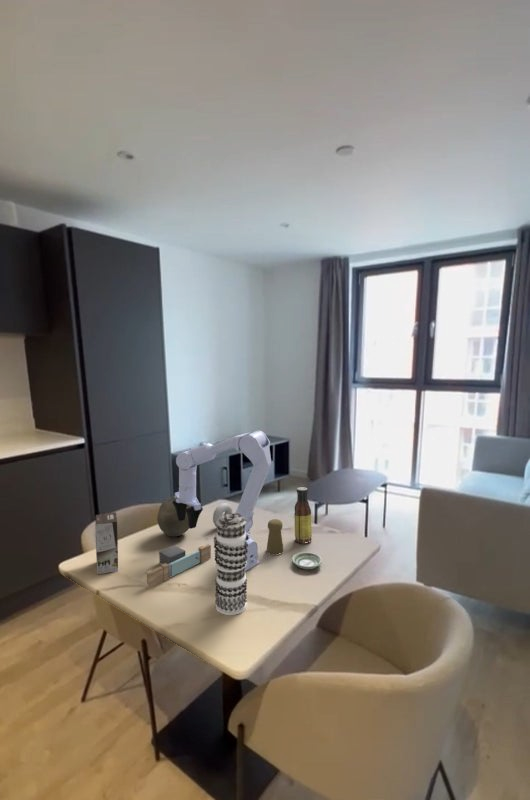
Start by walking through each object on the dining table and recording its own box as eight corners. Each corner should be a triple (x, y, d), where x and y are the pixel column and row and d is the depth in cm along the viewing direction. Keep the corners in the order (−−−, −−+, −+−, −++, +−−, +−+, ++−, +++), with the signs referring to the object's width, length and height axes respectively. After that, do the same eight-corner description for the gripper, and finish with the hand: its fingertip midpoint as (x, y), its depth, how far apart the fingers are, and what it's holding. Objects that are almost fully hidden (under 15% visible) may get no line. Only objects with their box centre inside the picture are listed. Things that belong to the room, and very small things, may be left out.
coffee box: (118, 571, 122) (117, 521, 120) (96, 575, 119) (94, 524, 118) (117, 557, 130) (116, 511, 129) (97, 561, 128) (95, 514, 126)
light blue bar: (201, 563, 126) (201, 551, 126) (170, 579, 117) (170, 566, 116) (197, 562, 127) (197, 549, 127) (166, 577, 118) (166, 564, 117)
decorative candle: (224, 592, 110) (223, 507, 108) (253, 599, 107) (253, 512, 105) (207, 610, 102) (206, 519, 100) (238, 619, 99) (238, 525, 96)
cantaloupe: (150, 535, 147) (149, 497, 146) (183, 525, 157) (182, 489, 155) (168, 548, 137) (167, 507, 135) (202, 536, 146) (201, 498, 145)
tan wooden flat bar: (211, 558, 130) (211, 544, 130) (149, 589, 112) (149, 573, 111) (207, 556, 131) (207, 543, 131) (146, 587, 113) (146, 571, 112)
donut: (217, 532, 150) (217, 507, 149) (210, 530, 152) (210, 505, 151) (234, 524, 158) (234, 501, 157) (228, 522, 160) (228, 499, 159)
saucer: (299, 555, 132) (299, 549, 132) (326, 563, 128) (326, 556, 127) (286, 568, 124) (286, 561, 124) (314, 576, 119) (314, 569, 119)
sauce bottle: (314, 539, 144) (315, 487, 143) (306, 546, 139) (307, 492, 137) (298, 535, 148) (299, 484, 146) (291, 541, 143) (291, 489, 141)
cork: (278, 556, 131) (278, 525, 130) (263, 552, 134) (263, 521, 134) (286, 549, 136) (286, 519, 135) (271, 545, 140) (272, 515, 139)
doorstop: (185, 562, 128) (185, 550, 127) (170, 569, 123) (170, 557, 123) (174, 556, 131) (174, 545, 131) (159, 563, 127) (159, 551, 127)
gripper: (167, 482, 134) (166, 519, 136) (187, 493, 124) (187, 534, 125) (185, 478, 139) (184, 515, 140) (206, 489, 128) (205, 528, 129)
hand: (187, 523), depth 133 cm, fingers open, 7 cm apart
